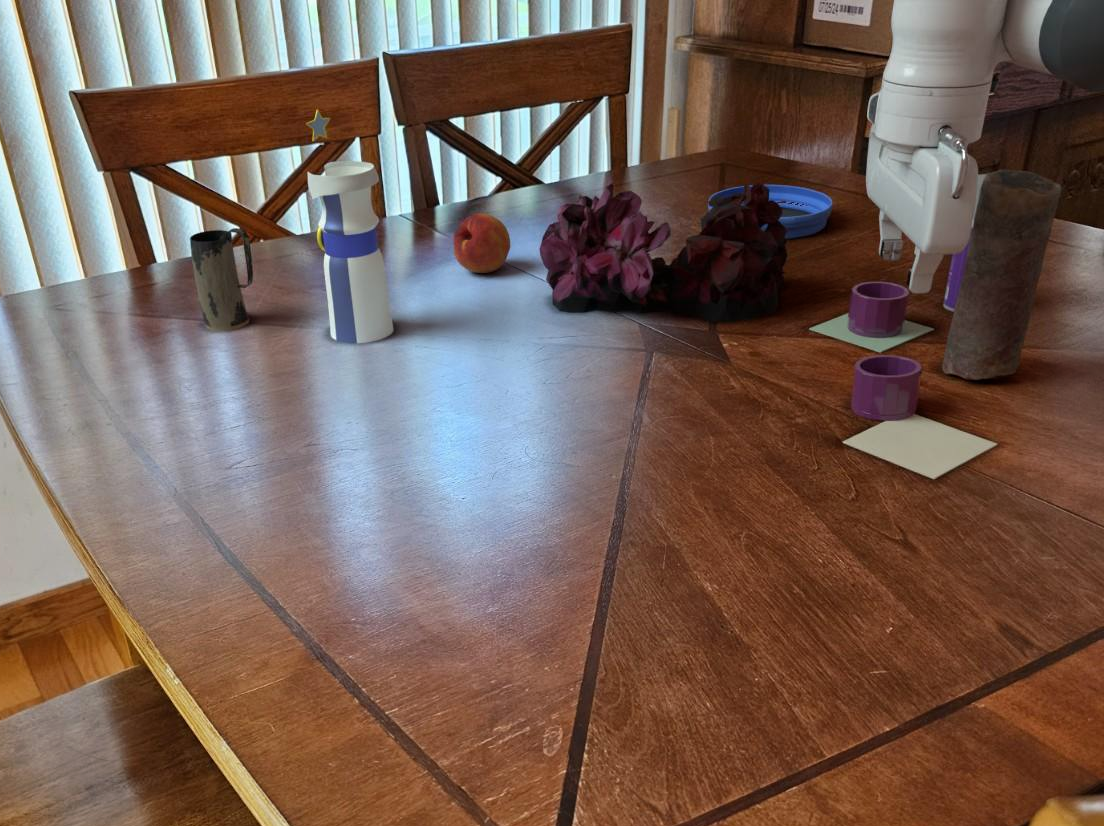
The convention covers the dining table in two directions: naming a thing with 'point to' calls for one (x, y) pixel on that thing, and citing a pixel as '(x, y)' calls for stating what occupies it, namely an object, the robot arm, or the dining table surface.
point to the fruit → (481, 243)
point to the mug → (220, 278)
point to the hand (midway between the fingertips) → (902, 274)
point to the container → (959, 263)
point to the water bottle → (350, 248)
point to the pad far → (840, 331)
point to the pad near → (920, 445)
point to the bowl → (794, 208)
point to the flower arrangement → (649, 284)
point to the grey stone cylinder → (1000, 274)
